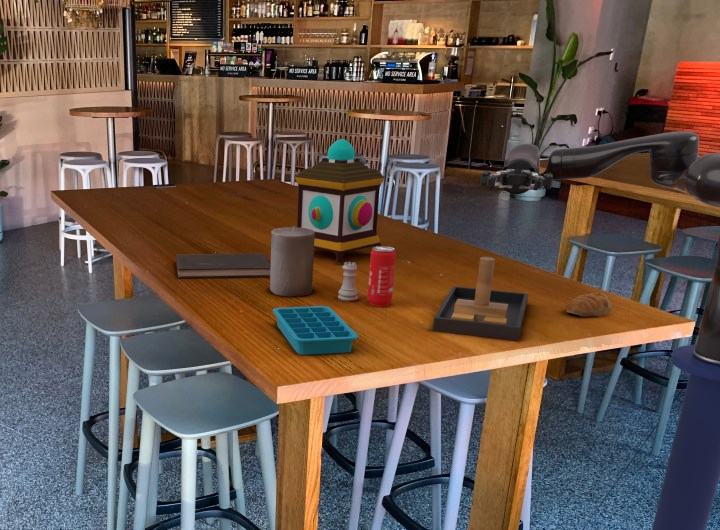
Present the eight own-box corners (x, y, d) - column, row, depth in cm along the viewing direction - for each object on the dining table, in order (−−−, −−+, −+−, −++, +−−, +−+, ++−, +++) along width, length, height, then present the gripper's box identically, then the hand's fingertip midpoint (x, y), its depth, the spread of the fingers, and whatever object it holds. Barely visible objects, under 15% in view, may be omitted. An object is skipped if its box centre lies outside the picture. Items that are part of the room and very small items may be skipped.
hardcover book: (272, 276, 192) (272, 267, 191) (177, 278, 191) (177, 268, 190) (264, 261, 207) (264, 252, 206) (176, 262, 206) (176, 254, 205)
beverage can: (380, 308, 167) (385, 252, 162) (361, 303, 171) (366, 248, 166) (396, 304, 170) (401, 249, 165) (377, 299, 174) (381, 244, 169)
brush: (455, 316, 159) (463, 254, 155) (505, 322, 156) (515, 258, 151) (452, 322, 156) (460, 258, 151) (503, 328, 152) (513, 263, 148)
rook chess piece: (362, 300, 173) (365, 264, 170) (346, 302, 171) (348, 266, 168) (349, 295, 177) (351, 260, 174) (333, 298, 174) (335, 262, 172)
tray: (451, 297, 175) (452, 285, 174) (526, 305, 169) (528, 293, 168) (432, 330, 153) (434, 317, 152) (518, 341, 147) (520, 327, 146)
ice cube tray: (295, 356, 140) (296, 340, 138) (270, 322, 158) (271, 308, 157) (359, 353, 141) (360, 337, 140) (327, 320, 160) (328, 305, 158)
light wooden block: (452, 322, 156) (453, 312, 156) (473, 324, 155) (474, 314, 154) (450, 326, 154) (451, 316, 153) (471, 328, 152) (472, 318, 151)
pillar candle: (319, 289, 181) (323, 224, 175) (299, 299, 174) (302, 231, 168) (282, 283, 186) (284, 219, 180) (261, 292, 179) (262, 226, 173)
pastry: (585, 320, 159) (588, 302, 157) (555, 312, 164) (558, 294, 163) (613, 313, 163) (616, 295, 162) (584, 305, 169) (587, 288, 167)
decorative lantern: (283, 253, 215) (286, 138, 204) (330, 243, 227) (336, 134, 216) (340, 266, 201) (347, 144, 190) (387, 255, 213) (397, 139, 202)
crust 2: (484, 325, 154) (485, 315, 153) (505, 328, 153) (507, 318, 152) (482, 330, 151) (483, 320, 151) (504, 332, 150) (505, 322, 149)
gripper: (550, 193, 175) (548, 204, 161) (483, 190, 181) (475, 200, 167) (556, 158, 172) (553, 166, 159) (488, 156, 178) (479, 163, 164)
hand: (513, 184), depth 163 cm, fingers open, 8 cm apart
